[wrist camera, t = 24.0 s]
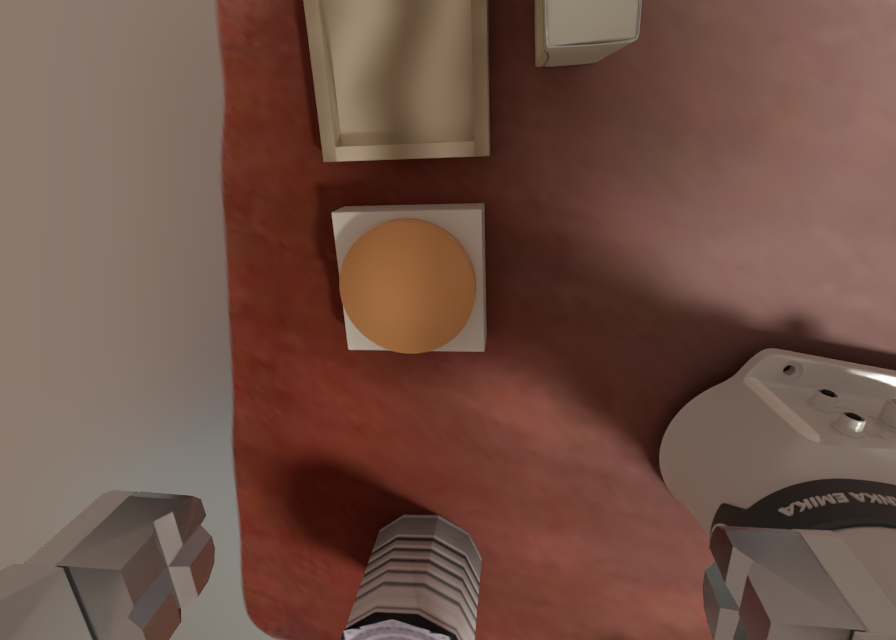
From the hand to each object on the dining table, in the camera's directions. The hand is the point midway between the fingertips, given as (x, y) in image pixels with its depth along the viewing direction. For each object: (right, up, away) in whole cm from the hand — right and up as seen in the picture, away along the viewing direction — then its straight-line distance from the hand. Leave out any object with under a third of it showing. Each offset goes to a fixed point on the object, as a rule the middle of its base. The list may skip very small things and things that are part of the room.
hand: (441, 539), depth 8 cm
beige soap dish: (-3, +21, +28) cm, 35 cm away
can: (-2, -21, +44) cm, 49 cm away
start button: (-3, +6, +30) cm, 31 cm away
